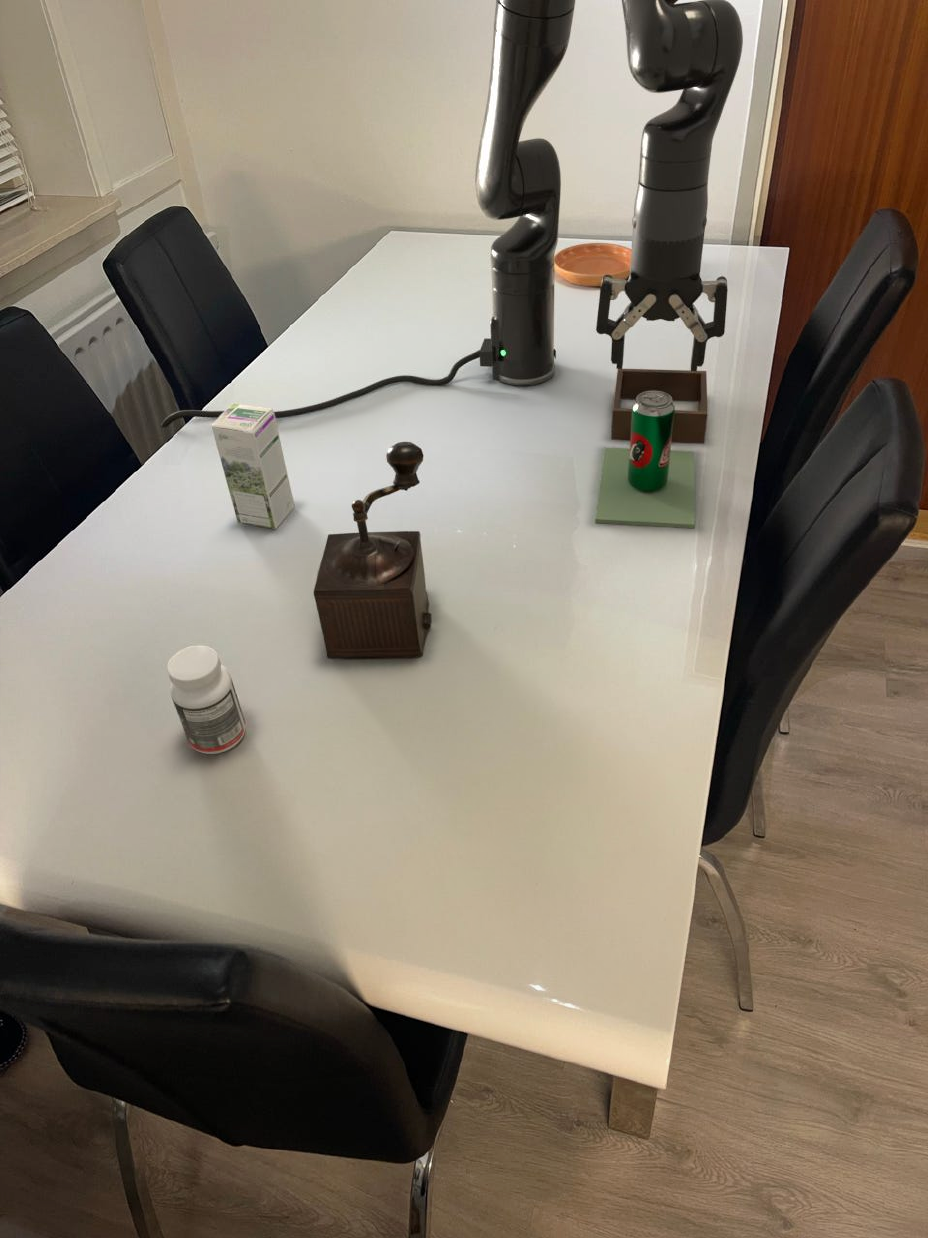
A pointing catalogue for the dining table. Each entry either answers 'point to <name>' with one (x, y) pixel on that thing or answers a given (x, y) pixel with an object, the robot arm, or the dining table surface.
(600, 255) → the saucer
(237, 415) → the syrup box
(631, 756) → the dining table surface
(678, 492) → the mat
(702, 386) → the crate
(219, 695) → the pill bottle
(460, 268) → the dining table surface
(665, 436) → the soda can
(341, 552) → the manual coffee grinder
